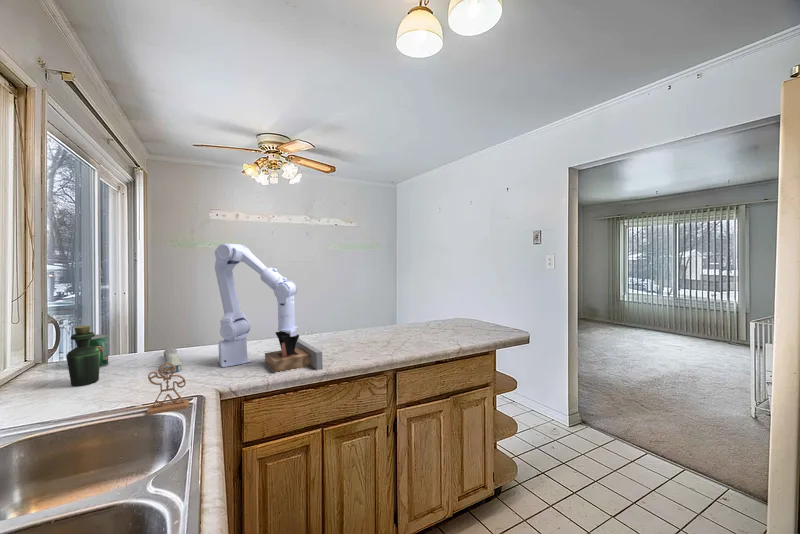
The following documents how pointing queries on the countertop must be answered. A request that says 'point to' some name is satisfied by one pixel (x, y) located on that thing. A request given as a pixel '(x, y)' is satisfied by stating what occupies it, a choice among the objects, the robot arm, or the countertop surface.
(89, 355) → the potion bottle
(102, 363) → the canned tomato
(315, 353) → the wall
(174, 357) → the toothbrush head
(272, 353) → the block
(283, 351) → the dowel
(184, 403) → the gingerbread man figurine
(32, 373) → the countertop surface
